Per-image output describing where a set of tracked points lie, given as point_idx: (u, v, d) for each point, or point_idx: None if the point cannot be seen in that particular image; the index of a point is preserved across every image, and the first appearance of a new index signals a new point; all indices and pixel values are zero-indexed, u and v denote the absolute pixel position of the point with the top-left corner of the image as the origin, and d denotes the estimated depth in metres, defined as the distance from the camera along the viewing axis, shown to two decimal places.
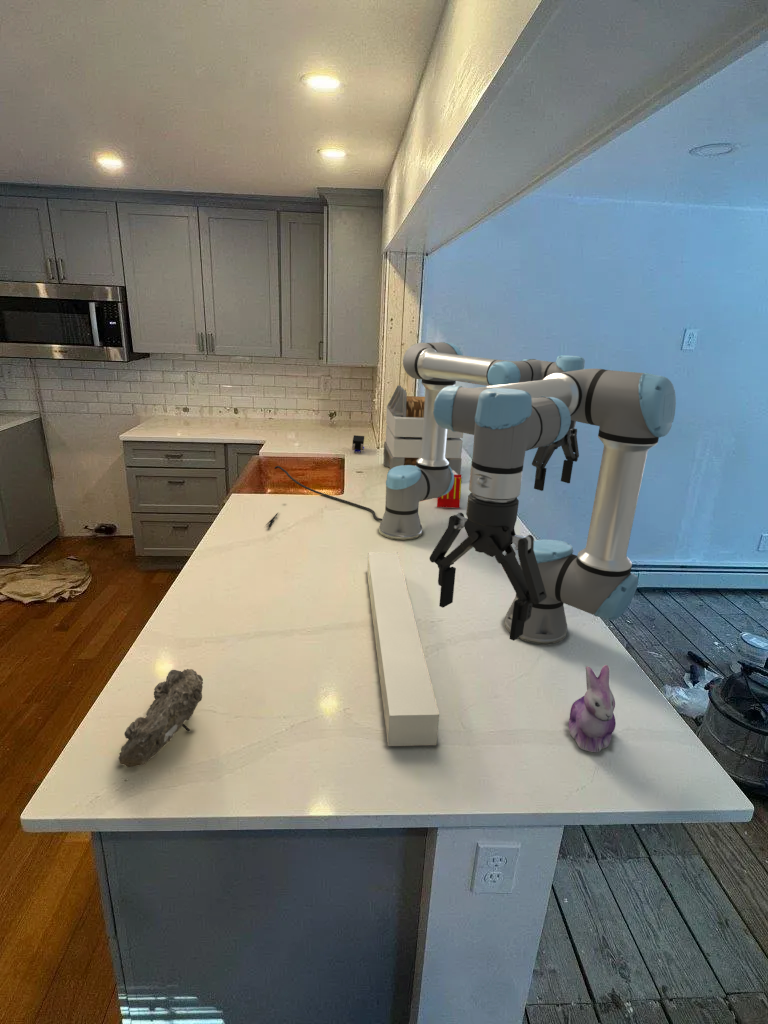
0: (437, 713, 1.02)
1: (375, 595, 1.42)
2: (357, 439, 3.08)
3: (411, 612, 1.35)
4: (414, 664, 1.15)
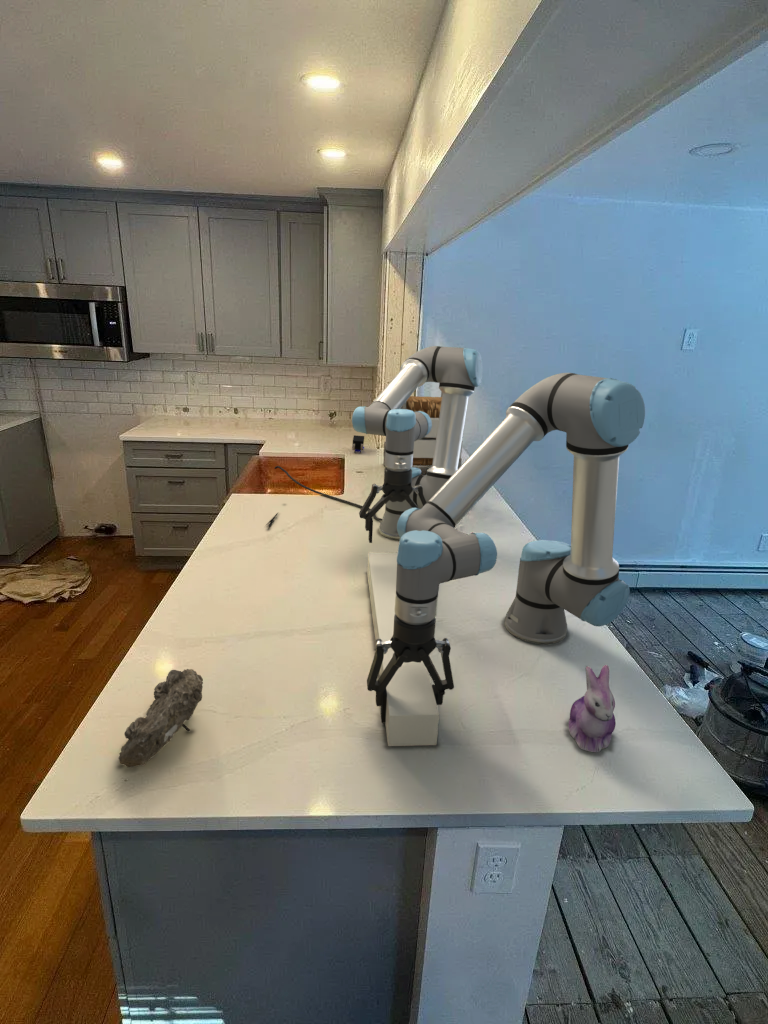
0: (437, 713, 1.02)
1: (375, 595, 1.42)
2: (357, 439, 3.08)
3: None
4: (414, 664, 1.15)
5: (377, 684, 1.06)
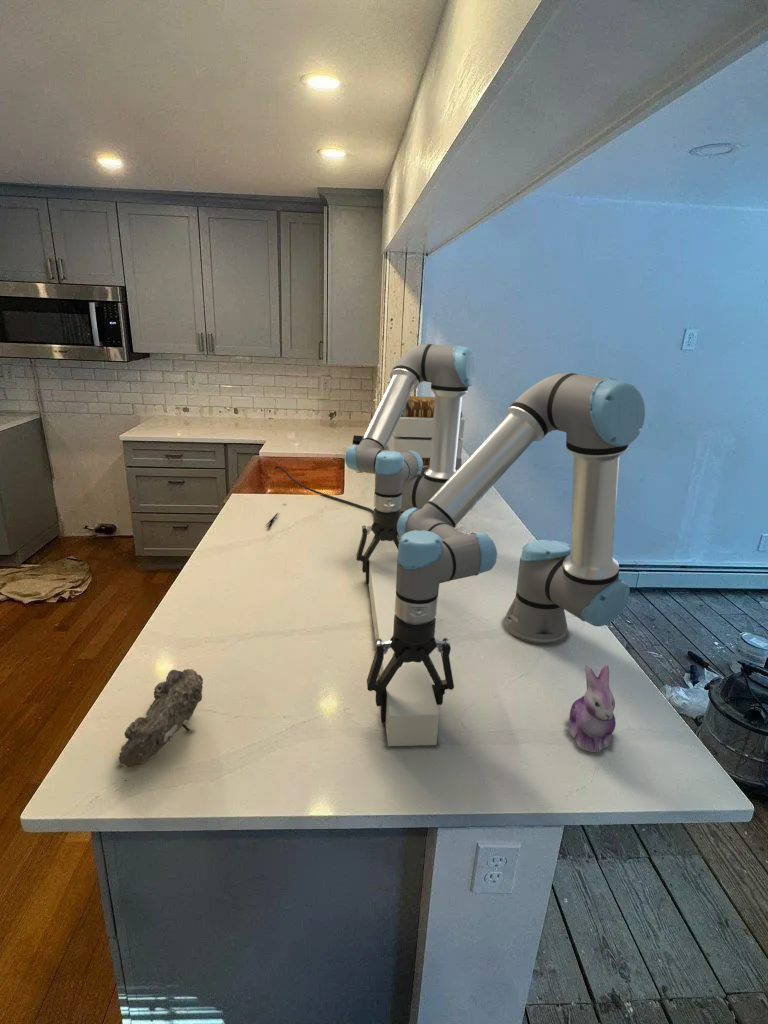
0: (437, 713, 1.02)
1: (375, 595, 1.42)
2: (357, 439, 3.08)
3: None
4: (414, 664, 1.15)
5: (377, 684, 1.06)
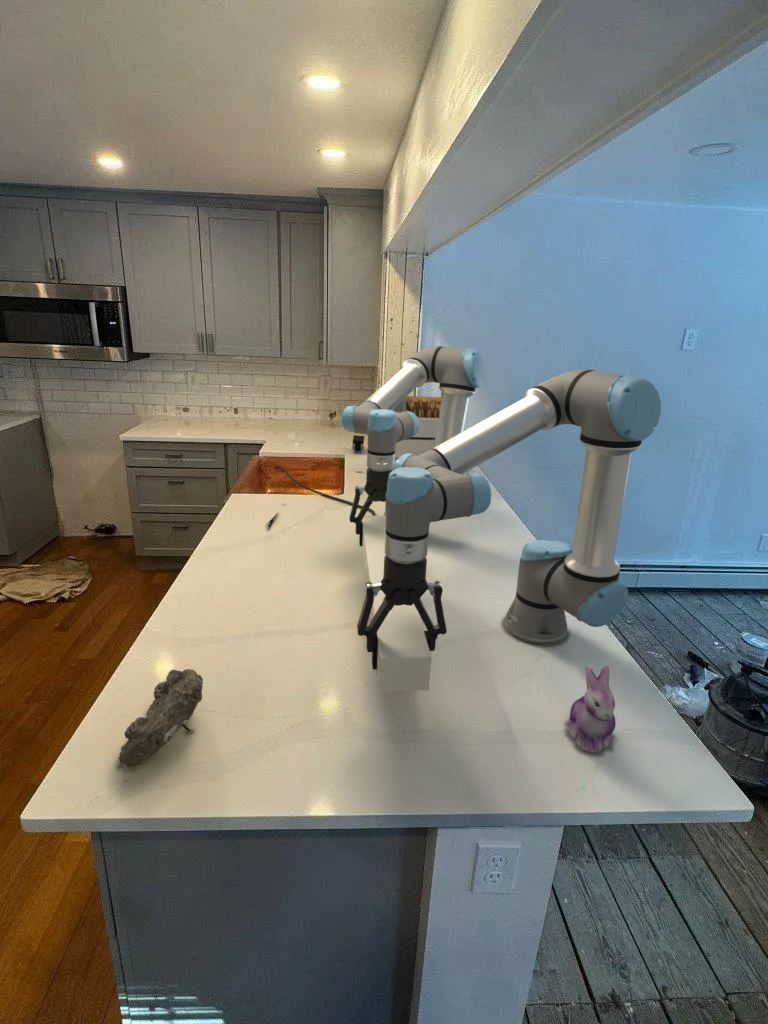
0: (429, 656, 0.99)
1: (368, 553, 1.40)
2: (357, 439, 3.08)
3: None
4: (406, 613, 1.13)
5: (368, 629, 1.03)
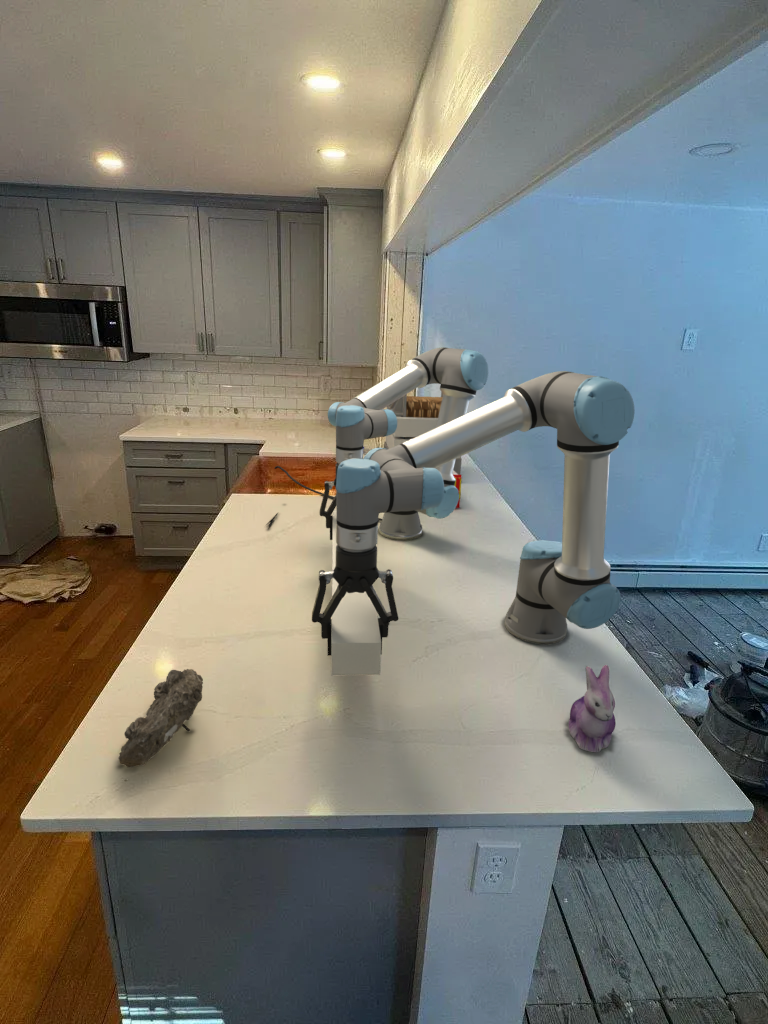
0: (379, 641, 1.02)
1: (334, 545, 1.43)
2: None
3: None
4: (363, 602, 1.16)
5: (322, 616, 1.07)
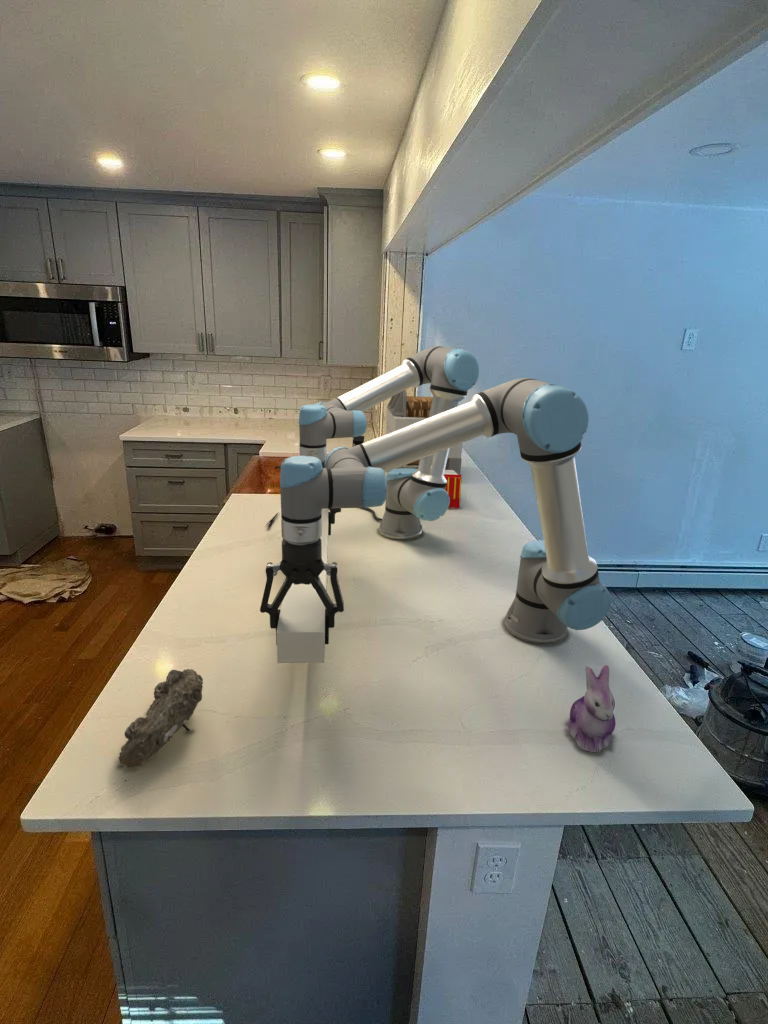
0: (322, 631, 1.07)
1: None
2: (357, 439, 3.08)
3: (325, 553, 1.40)
4: (313, 594, 1.21)
5: (270, 606, 1.11)
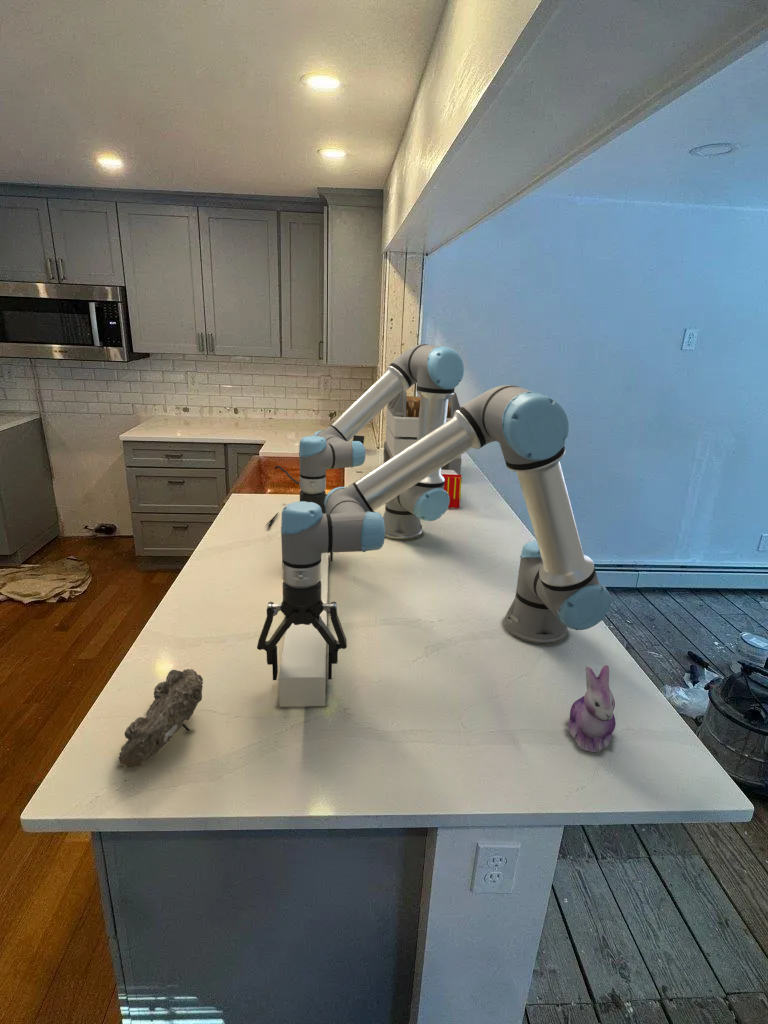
0: (323, 676, 1.10)
1: None
2: (357, 439, 3.08)
3: (325, 589, 1.44)
4: (314, 635, 1.24)
5: (267, 643, 1.14)
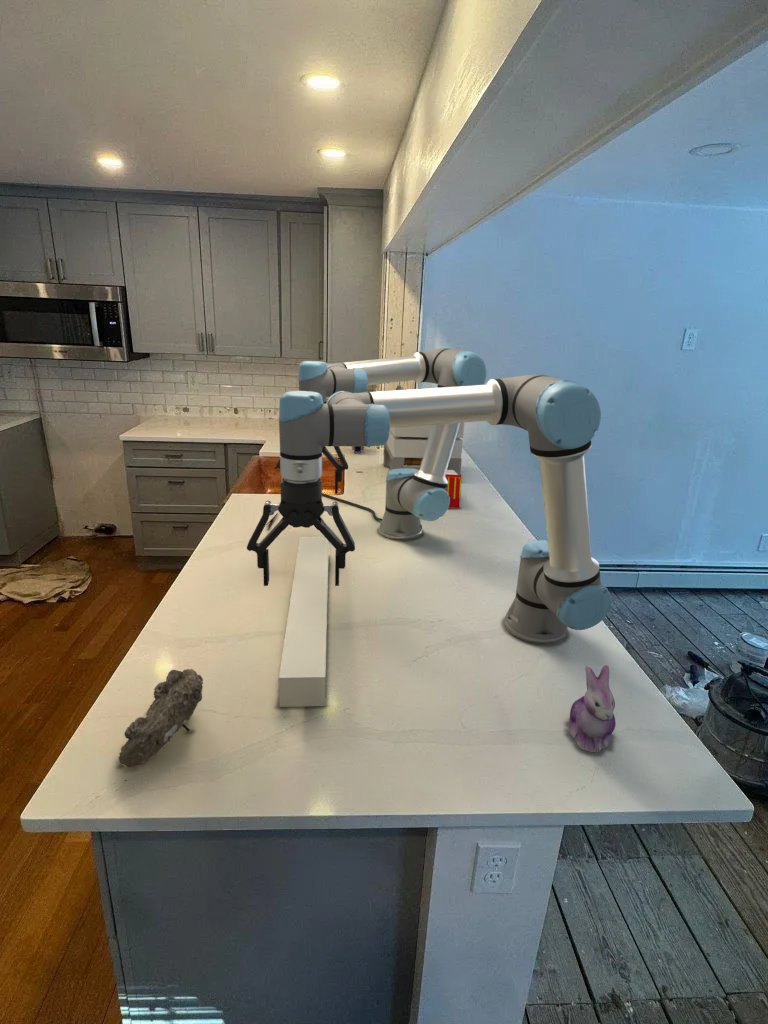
0: (323, 676, 1.10)
1: (295, 575, 1.51)
2: None
3: (325, 589, 1.44)
4: (314, 635, 1.24)
5: (258, 544, 1.07)
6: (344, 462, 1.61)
